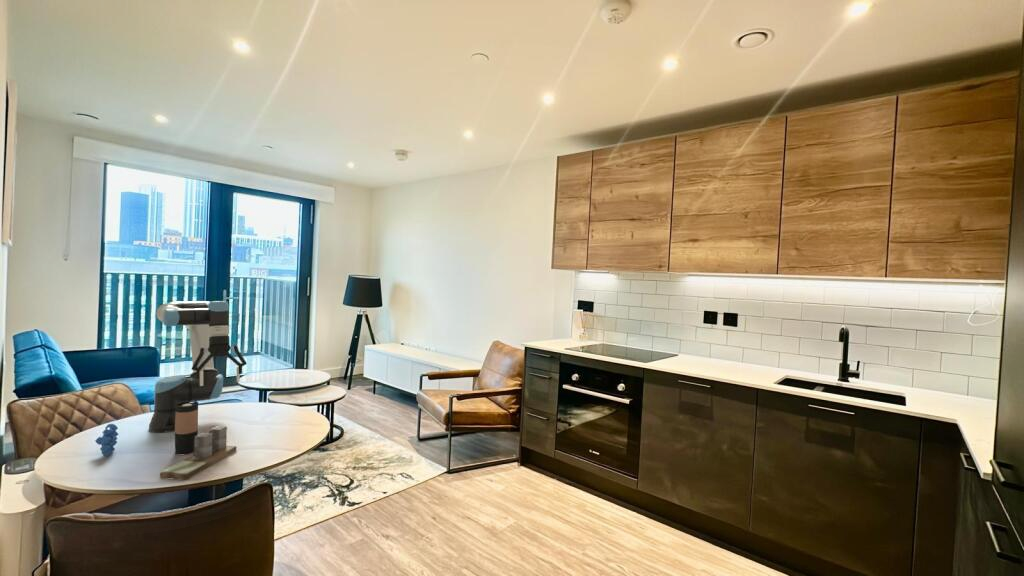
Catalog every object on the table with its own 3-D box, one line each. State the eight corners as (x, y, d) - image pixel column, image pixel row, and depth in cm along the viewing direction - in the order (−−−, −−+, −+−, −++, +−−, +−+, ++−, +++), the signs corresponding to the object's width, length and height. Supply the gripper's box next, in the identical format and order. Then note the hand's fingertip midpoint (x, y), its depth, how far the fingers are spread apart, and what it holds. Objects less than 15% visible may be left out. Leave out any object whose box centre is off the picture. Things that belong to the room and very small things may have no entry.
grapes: (100, 449, 178) (100, 421, 177) (121, 447, 181) (122, 419, 180) (89, 461, 167) (89, 430, 167) (112, 458, 171) (112, 428, 170)
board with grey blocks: (160, 477, 158) (160, 448, 157) (213, 449, 184) (214, 423, 183) (186, 480, 157) (186, 450, 157) (236, 450, 183) (237, 425, 183)
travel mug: (179, 456, 175) (180, 408, 174) (171, 451, 179) (172, 404, 178) (200, 450, 182) (201, 403, 181) (192, 446, 186) (193, 400, 185)
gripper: (182, 337, 185) (183, 388, 183) (250, 333, 196) (251, 380, 193) (187, 338, 192) (188, 386, 190) (252, 333, 202) (253, 379, 200)
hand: (220, 383), depth 192 cm, fingers open, 13 cm apart
